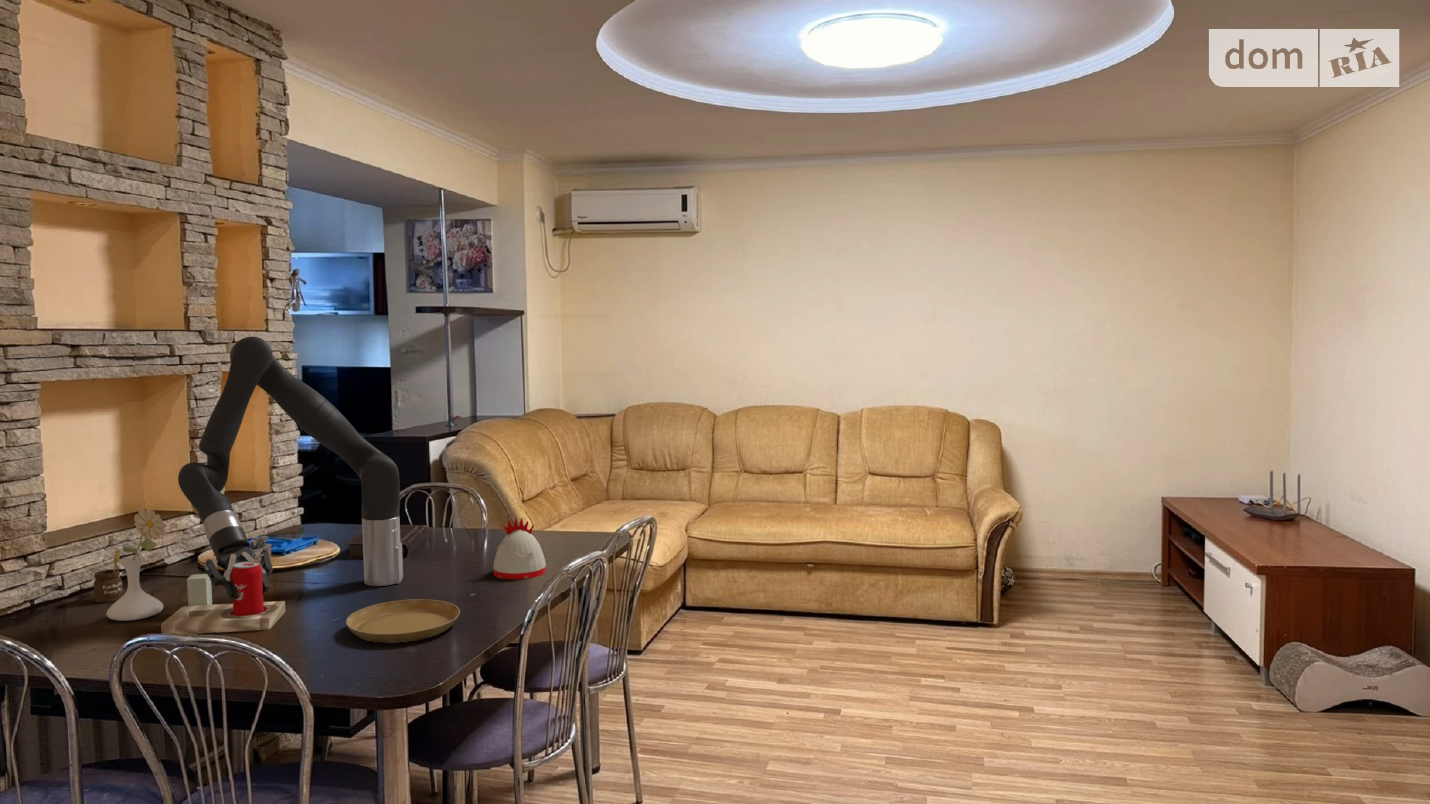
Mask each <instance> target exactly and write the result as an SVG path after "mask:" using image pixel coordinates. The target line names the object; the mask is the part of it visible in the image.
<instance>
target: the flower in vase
mask: <svg viewBox="0 0 1430 804" xmlns="http://www.w3.org/2000/svg"><path fill="white" fill-rule="evenodd" d="M134 525H135V527H136V531H137V532H139V534H140V539H139V542H138V546H137V547H136V548H134V547H133V548H131V547H127V546H124V545H122V551H123V552H125V553H126V552H127V553H134V555H133V556H129V557H123V558H121V559H119V561H118V562H120V563H121V564H122V565H123V566H124V569H125V572H126V576H127V589H126V592H125V593H124V594H122V597H121V598H120V599H119V600H117V601H114V603H113V604H112V605H111V606H110V607H109V608H108V609H107V612H106V613H105V615H106V617H107V618H108V619H110V620H113V621H117V622H118V621H120V622H122V621H123V622H124V621H125V622H127V621H129V622H130V621H136V620H142V619H143V620H144V619H147V618H150V617H152V616H156V615H157V614H159V613H161V611H163V609H164V604H163V603H162V601H160V600H159V599H157V598H156V597H155V596H152V595H150V594H148V593H146V592H145V591H144V590H143V589H142V587H141V583H140V569H141V567H142V564H143V562H144V560H145V559H146V557H145V556H140V555H139V556H137V553H138V551H139V549H140V547H141V548H143V549H144V550H146V551H151V550H153V549H154V548H156V547H157V546H158V544H157V542H155V541H153V540H159V539H160V538H161V537H160V536H164V533H166V530H165V529H164V528H165V527H166V524H165V523H164V520H163V519H162V518H161V515H160V514H156V512H155V511H154V510H153V509H150V508H147V509H146V510H145V509H144V508H141V509H140V510H139V511H138V514H137V513H136V514H135V515H134ZM143 538H144V540H143ZM152 539H153V540H152ZM142 540H143V541H142Z"/></svg>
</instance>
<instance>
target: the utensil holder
mask: <svg viewBox="0 0 1430 804" xmlns="http://www.w3.org/2000/svg"><path fill="white" fill-rule="evenodd" d="M120 554H121V549H120V548H115V551H114V555H113V562H114V564H113V565H114V566H113V569H103V570H102V569H101V570H100V569H99V566H98V565H100V567H104V565H106V564H105V561H104V558H103V559H102V558H101V557H96V558H94V560H92V562H94V563H92V566H93V568H94V570H95V573H94V579H95V580H94V582H93V596H94V597H93V598H94V601H95V602H96V603H98V604H99V603H102V604H103V603H104V604H105V603H112V602H116V601H118V600H119V599H120V598H121V597H122V596H123V581H122V578H121V577H120V573H121V572H120V570H119V569H116V567H117V563H118V562H120V561H119V560H120V556H121V555H120ZM95 560H98V561H99V562H96V561H95ZM98 563H100V564H98ZM101 565H102V566H101ZM97 569H99V570H97Z"/></svg>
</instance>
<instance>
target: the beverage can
mask: <svg viewBox="0 0 1430 804" xmlns="http://www.w3.org/2000/svg"><path fill="white" fill-rule="evenodd" d="M231 575H232V579H231V581H233V583H234V584H235V587H236V589H237V591H238V597H237V599H235V600H232V604H233V615H234V616H250V615H255V614H259V613H262V612H264V602H265V601H264V593H263V580H262V568H261V566H260V565H259V562H257V561H245V562H239V563H236V564H234V567H233V570H232V572H231Z"/></svg>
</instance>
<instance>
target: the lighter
mask: <svg viewBox="0 0 1430 804" xmlns="http://www.w3.org/2000/svg"><path fill="white" fill-rule="evenodd" d="M268 541H269V536H268V535H264V536H260V537H254V538H253V540H251V541H249V544H250V547H251V549H252V550H254V551H255V552H259V551H262V550H263V549H267V550H268V553H269V557H270V560H271V561H272V549H271V548H272V544H271V543H266V542H268ZM254 560H255V561H257V562H259V565H260V566H261V567H262V565H261V561H258V559H257V558H256V557H254ZM272 572H273V570H272V571H271V572H270V574H271V573H272Z"/></svg>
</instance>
